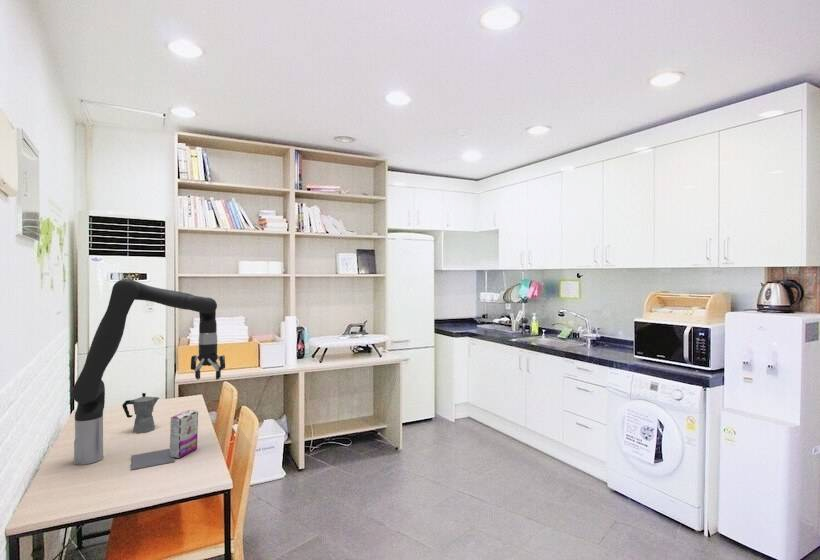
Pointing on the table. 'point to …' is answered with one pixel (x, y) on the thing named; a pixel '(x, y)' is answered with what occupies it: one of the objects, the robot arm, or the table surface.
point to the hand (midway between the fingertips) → (208, 379)
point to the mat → (151, 459)
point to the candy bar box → (183, 433)
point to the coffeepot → (142, 413)
